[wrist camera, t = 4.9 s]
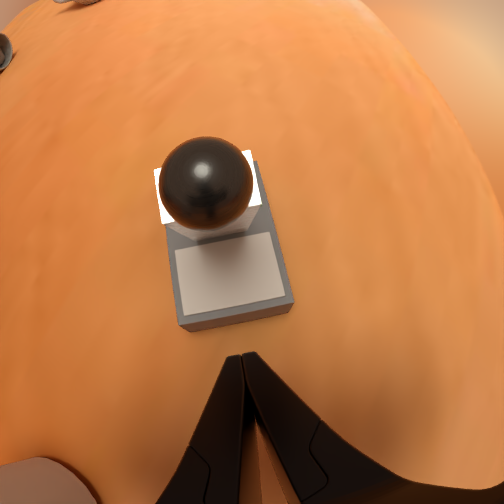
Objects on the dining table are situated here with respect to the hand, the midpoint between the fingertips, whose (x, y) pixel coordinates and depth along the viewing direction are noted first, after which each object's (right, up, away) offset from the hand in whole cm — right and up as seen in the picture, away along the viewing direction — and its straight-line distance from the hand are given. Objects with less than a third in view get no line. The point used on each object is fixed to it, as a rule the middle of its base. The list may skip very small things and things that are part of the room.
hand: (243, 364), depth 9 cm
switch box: (-2, +4, +11) cm, 12 cm away
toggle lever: (-2, +5, +8) cm, 10 cm away
